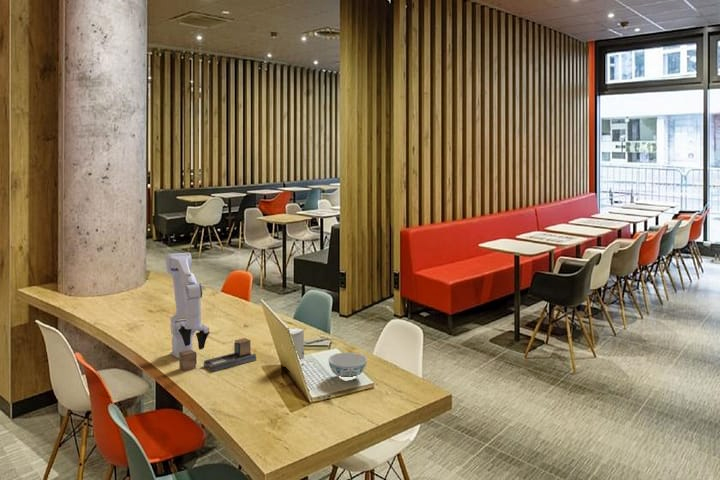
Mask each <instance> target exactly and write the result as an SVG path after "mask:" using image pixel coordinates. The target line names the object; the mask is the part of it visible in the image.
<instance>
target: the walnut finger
mask: <svg viewBox="0 0 720 480" xmlns="http://www.w3.org/2000/svg"><path fill="white" fill-rule="evenodd" d="M196 354H197V352H196V351H195V350H194V349H193V350H191V349H190V350H185V351H181V352H179V358H178V359H179V360H178V362H179V369H180V370H181V371H183V372H187V371H191V370H194V369H197V355H196Z"/></svg>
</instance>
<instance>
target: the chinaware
mask: <svg viewBox="0 0 720 480" xmlns="http://www.w3.org/2000/svg"><path fill="white" fill-rule="evenodd" d="M327 360H328V361H327V362H328V364H329V368H330V370H331V371H332V373H333V374H334V375H335V376H336V377H338V376H341V377H353V376H357V375H359V376H360V375H361V374H362V373H363V372H364V370H365V369H366V366H367V364H368V358H367V357H366V356H365V355H362V354H360V353H357V352H339V353H335V354H332V355H330V356H329V357H328V359H327ZM357 377H358V376H357Z"/></svg>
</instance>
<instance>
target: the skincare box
mask: <svg viewBox="0 0 720 480" xmlns="http://www.w3.org/2000/svg"><path fill="white" fill-rule="evenodd" d="M288 330H290V333H291V336H292V339H293V342H294V345H295V348H296V351H297V354H298V356H299V359H300V360H301V359H303V358H304V359H305V339H304V338H305V337H304V336H305V335H304V334H305V331H304V329H302V328H296V327H293V328H289V329H288Z"/></svg>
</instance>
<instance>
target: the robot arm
mask: <svg viewBox="0 0 720 480" xmlns="http://www.w3.org/2000/svg"><path fill="white" fill-rule="evenodd" d="M192 260H193V258H192V254H191V252H189V251H187V252H180V253H178V252H177V253H167V254H166V255H165V265H166V272H167V274H169V275H171V278H172V283H173V293H174V301H175V311H176V312H175V313H174V315H172V317H171V318H170V332H171V335H172V338H171V349H172V350H171V351H172V352H170V353H169V354H170V355H172V356H173V357H175V358H177V359H179V352H181V351H185V350H190V349H191V350H193V351H194V343H193V341H194V335H195V336H196V339H197V347H198V350H203V349H205V346H206V345H205V344H206V342H207V339H208V336H209V335H210V327H209V326H206V325H204V324H203V323H202V310H201V309H202V307H201V306H202V304H201V300H202V298H203V288H202V284H201V283H200V282H198V280H197V278H196V275H195V274H194V272H191V265H192V263H193V261H192ZM196 356H198V353H196Z"/></svg>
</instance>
